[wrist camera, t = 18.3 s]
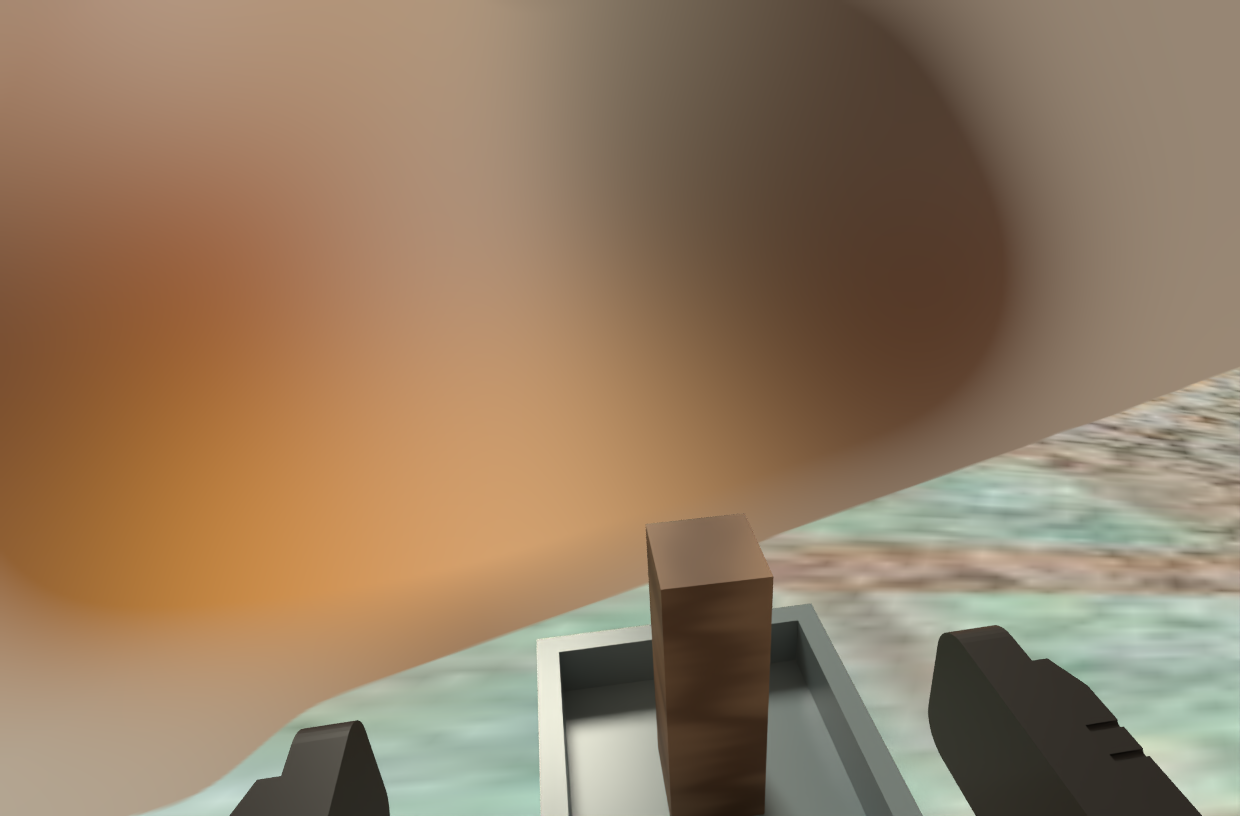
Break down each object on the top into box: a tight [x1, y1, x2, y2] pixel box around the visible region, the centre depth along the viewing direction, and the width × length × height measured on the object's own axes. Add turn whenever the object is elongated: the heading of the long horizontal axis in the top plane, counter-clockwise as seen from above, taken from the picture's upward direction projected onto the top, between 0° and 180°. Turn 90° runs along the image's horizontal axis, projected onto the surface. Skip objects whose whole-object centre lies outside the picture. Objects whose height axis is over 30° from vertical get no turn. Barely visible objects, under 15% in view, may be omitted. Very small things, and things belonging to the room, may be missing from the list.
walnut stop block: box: [646, 513, 773, 816], centre depth 33 cm, size 4×4×14 cm
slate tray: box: [537, 604, 923, 816], centre depth 36 cm, size 16×16×4 cm
